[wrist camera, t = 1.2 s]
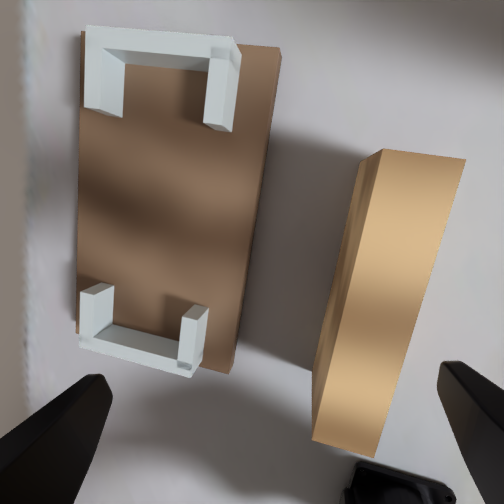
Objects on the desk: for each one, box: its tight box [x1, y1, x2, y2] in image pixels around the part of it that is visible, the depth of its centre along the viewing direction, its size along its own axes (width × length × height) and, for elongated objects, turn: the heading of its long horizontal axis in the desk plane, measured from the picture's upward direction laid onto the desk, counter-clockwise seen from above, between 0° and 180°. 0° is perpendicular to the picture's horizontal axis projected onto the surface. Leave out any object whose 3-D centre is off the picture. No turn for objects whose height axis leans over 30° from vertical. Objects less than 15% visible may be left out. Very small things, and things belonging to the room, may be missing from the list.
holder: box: [76, 25, 282, 378], centre depth 19 cm, size 20×12×3 cm, turn 171°
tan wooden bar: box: [312, 149, 466, 458], centre depth 16 cm, size 14×3×6 cm, turn 171°
